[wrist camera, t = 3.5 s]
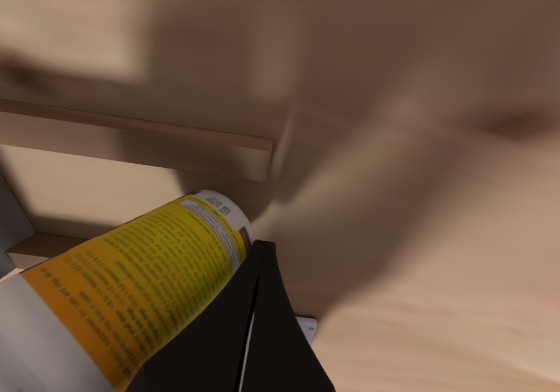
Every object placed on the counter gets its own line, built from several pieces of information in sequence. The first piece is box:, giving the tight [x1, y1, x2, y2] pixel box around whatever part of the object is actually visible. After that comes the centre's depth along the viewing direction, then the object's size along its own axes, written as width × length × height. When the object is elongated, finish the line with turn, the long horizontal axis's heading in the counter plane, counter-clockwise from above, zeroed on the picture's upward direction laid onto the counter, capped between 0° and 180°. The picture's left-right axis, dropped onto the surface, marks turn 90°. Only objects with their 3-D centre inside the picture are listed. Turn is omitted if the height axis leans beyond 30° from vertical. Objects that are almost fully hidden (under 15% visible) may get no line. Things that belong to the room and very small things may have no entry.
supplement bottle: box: [0, 189, 255, 392], centre depth 9 cm, size 6×6×10 cm
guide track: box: [0, 99, 273, 279], centre depth 12 cm, size 11×19×5 cm, turn 82°
